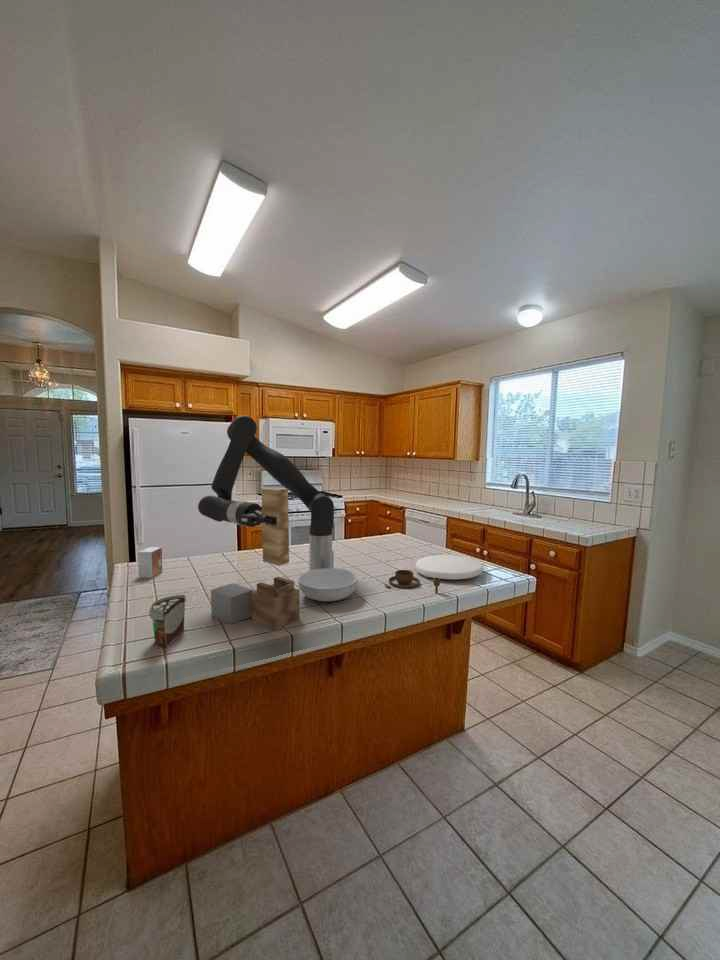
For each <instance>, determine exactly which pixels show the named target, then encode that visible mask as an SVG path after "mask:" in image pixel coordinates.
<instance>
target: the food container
mask: <svg viewBox="0 0 720 960" xmlns="http://www.w3.org/2000/svg"><path fill="white" fill-rule="evenodd" d="M186 599H187V598H186V594H177V595H169V596H167V597H166V596H165V597H163V598H162V597H161V598H159V599H158V600H156V601H154V602H153V603H152V604H151V606H150V608H149V611H148V612H149V613H148V616H149V617H150V618H151V619H152V628H153V634H154V635H153V636H154V637H153V638H154V642H155V645H156V646H157V647H160V648H168V647H169V646H170V645H171V644H172V643H173V642H174V641H175V640H176V639H177V638H178V637H179V636H180V635H182V633H183V632H184V631H185V611H186V608H185V606H186V605H185V604H186V601H187V600H186Z"/></svg>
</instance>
